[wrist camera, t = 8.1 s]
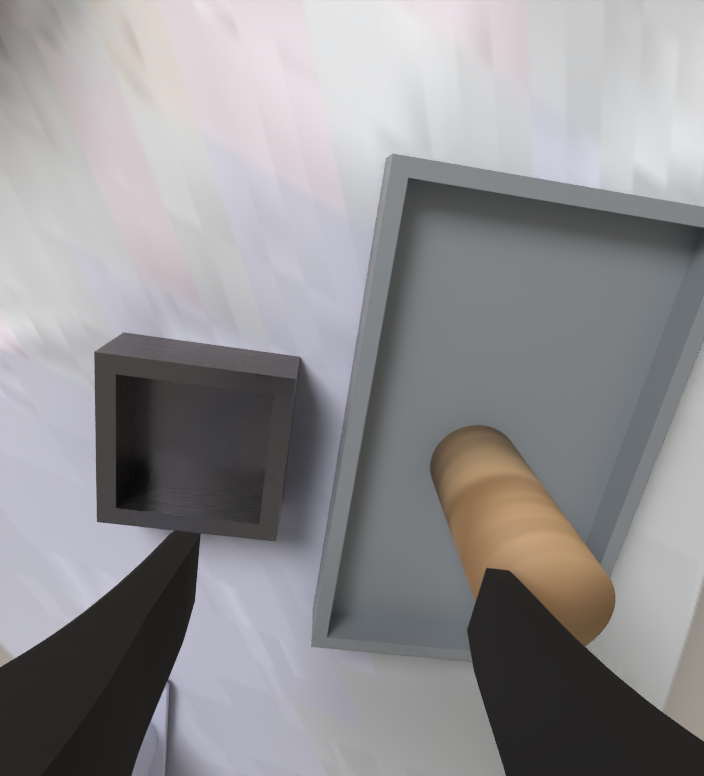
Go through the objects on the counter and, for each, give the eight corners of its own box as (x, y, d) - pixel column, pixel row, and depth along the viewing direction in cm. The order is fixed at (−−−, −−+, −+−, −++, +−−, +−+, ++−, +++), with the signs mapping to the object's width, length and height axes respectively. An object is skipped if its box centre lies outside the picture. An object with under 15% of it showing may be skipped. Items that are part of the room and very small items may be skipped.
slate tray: (553, 632, 26) (572, 670, 24) (313, 609, 25) (311, 646, 23) (708, 213, 19) (752, 215, 17) (386, 157, 18) (392, 153, 16)
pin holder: (281, 504, 23) (275, 541, 21) (122, 486, 22) (96, 521, 20) (300, 357, 21) (295, 378, 18) (123, 332, 20) (94, 352, 18)
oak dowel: (504, 506, 22) (591, 664, 15) (422, 497, 22) (469, 653, 15) (526, 430, 21) (633, 561, 14) (439, 419, 21) (501, 548, 13)
